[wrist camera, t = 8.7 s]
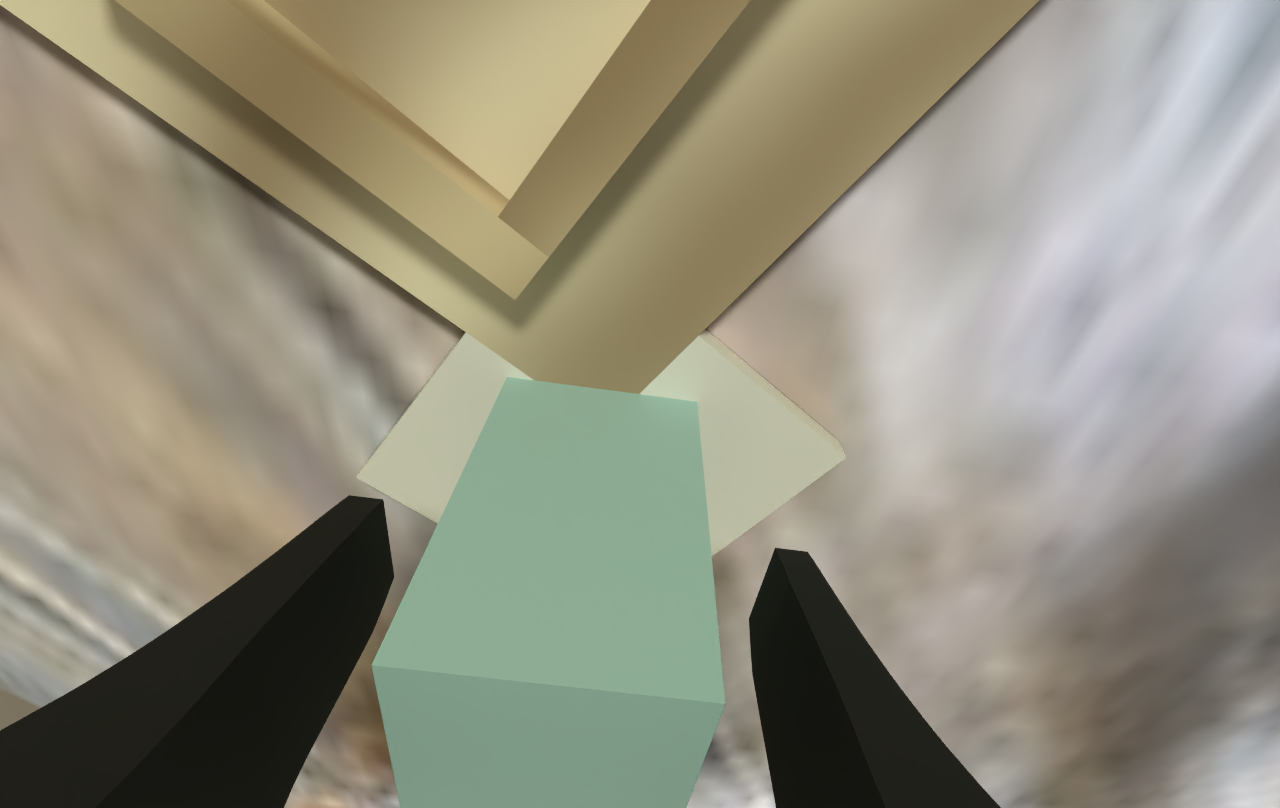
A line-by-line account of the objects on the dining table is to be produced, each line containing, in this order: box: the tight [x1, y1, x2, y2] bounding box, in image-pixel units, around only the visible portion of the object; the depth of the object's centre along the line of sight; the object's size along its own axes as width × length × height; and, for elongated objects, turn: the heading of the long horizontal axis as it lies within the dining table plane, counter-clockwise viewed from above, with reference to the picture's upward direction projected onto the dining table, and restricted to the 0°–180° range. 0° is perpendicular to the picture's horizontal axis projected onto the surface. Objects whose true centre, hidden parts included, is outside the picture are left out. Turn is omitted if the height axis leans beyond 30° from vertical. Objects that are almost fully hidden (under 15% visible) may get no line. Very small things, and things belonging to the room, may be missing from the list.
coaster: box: [356, 330, 846, 556], centre depth 13 cm, size 8×8×1 cm
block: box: [372, 377, 725, 808], centre depth 10 cm, size 4×4×6 cm
